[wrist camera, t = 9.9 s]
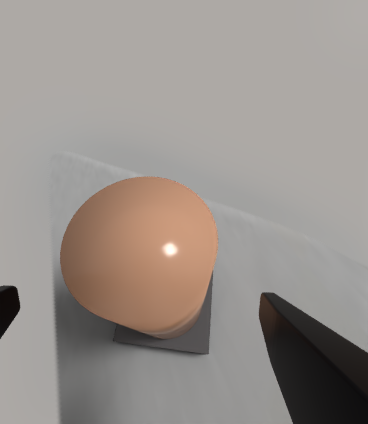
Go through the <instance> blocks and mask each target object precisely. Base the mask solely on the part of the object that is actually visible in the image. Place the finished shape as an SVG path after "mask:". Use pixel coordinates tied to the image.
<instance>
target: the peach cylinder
mask: <svg viewBox="0 0 368 424" xmlns="http://www.w3.org/2000/svg"><path fill="white" fill-rule="evenodd" d="M217 250H218V235H217V228H216V224H215V221H214V218H213V216H212V213H211V212H210V210H209V208H208V207H207V205H206V204H205V203H204V201H203V200H202V199H201V198H200V197H199V196H198V195H197V194H196V193H195V192H193V191H192V190H191V189H189V188H187V187H186V186H184V185H182V184H180V183H178V182H175V181H172V180H169V179H165V178H159V177H136V178H130V179H126V180H122V181H119V182H116V183H114V184H112V185H109V186H107V187H105V188H104V189H102V190H100V191H99V192H97V193H96V194H94V195H93V196H92V197H90V198H89V199H88V200H87V201H86V202H85V203H84V204H83V205H82V206H81V207H80V208H79V209H78V211H77V212H76V213H75V215H74V216H73V218H72V219H71V221H70V223H69V224H68V227H67V229H66V231H65V234H64V237H63V241H62V245H61V252H60V263H61V270H62V274H63V278H64V281H65V283H66V285H67V287H68V289H69V291H70V292H71V294H72V295H73V296H74V298H75V299H76V300H77V301H78V302H79V303H80V304H81V305H82V306H83V307H84V308H86V309H87V310H89V311H90V312H92V313H93V314H95V315H98V316H100V317H102V318H104V319H107V320H110V321H112V322H115V323H118V324H120V325H123V326H126V327H128V328H131V329H134V330H137V331H139V332H142V333H145V334H147V335H150V336H153V337H156V338H159V339H173V338H176V337H179V336H181V335H183V334H185V333H186V332H188V331H189V330H190V329H191V328H192V327H193V326H194V325H195V323H196V322H197V320H198V318H199V316H200V313H201V310H202V307H203V303H204V300H205V296H206V293H207V289H208V285H209V282H210V278H211V275H212V271H213V267H214V264H215V260H216V255H217Z"/></svg>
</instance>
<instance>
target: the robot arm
mask: <svg viewBox="0 0 368 424" xmlns="http://www.w3.org/2000/svg"><path fill="white" fill-rule="evenodd" d="M19 310H20V301H19V296H18V290H17V288H16V287H15V286H0V339H1V337H2V336H3V334H4V333H5V331H6V330H7V328H8V327H9V325H10V324H11V322H12V321H13V320H14V318H15V317H16V315H17V314H18V312H19ZM259 319H260V323H261V327H262V331H263V335H264V339H265V343H266V347H267V351H268V355H269V358H270V362H271V365H272V368H273V371H274V373H275V376H276V379H277V381H278V384H279V387H280V389H281V392H282V395H283V398H284V400H285V403H286V406H287V408H288V411H289V414H290V416H291V419H292V422H293V424H368V353H367V352H366V351H364V350H362V349H361V348H359V347H358V346H356V345H355V344H353V343H351V342H350V341H348V340H347V339H345V338H344V337H342V336H340V335H339V334H337V333H336V332H334V331H333V330H331V329H330V328H328V327H326V326H325V325H323V324H322V323H320V322H319V321H317V320H315V319H314V318H312V317H311V316H309V315H308V314H306V313H304V312H303V311H301V310H300V309H298V308H297V307H295V306H293V305H292V304H290V303H289V302H287V301H286V300H284V299H282V298H281V297H279V296H278V295H276V294H275V293H267V292H264V293H262V294H261V297H260V307H259Z"/></svg>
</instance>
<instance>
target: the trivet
mask: <svg viewBox="0 0 368 424" xmlns="http://www.w3.org/2000/svg"><path fill="white" fill-rule="evenodd" d="M212 280H213V271H212V275H211V278H210V282H209V285H208V289H207V293H206V296H205V300H204V303H203V307H202V310H201V313H200V316H199V318H198V320H197V322H196V323H195V325H194V326H193V327H192V328H191V329H190V330H189V331H188V332H186V333H185V334H183V335H181V336H179V337H176V338H173V339H159V338H156V337H153V336H150V335H147V334H145V333H142V332H139V331H137V330H134V329H131V328H128V327H126V326H123V325H120V324H118V323H117V326H116V330H115V334H114V338H113V341H116V342H123V343H130V344H137V345H145V346H152V347H159V348H167V349H174V350H181V351H188V352H196V353H203V354H209V336H210V317H211V299H212Z"/></svg>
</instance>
